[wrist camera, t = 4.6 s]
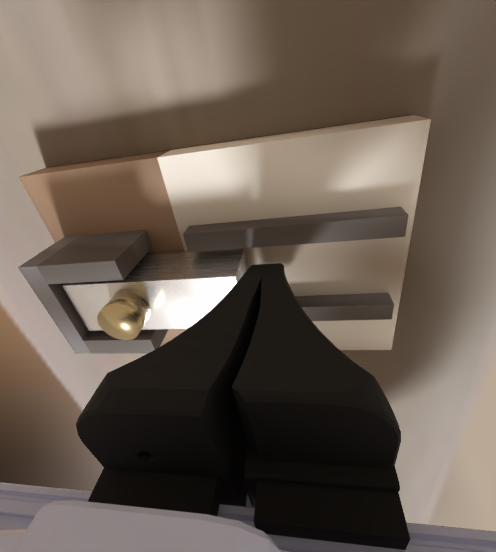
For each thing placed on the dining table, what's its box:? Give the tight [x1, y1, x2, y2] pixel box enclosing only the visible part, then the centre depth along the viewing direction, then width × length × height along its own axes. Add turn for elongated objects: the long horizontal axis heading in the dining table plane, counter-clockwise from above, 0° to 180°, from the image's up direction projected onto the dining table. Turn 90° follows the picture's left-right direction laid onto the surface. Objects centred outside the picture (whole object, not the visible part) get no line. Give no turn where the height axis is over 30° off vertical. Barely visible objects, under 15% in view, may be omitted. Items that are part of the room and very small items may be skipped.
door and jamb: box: [18, 115, 431, 353], centre depth 12 cm, size 10×15×4 cm, turn 99°
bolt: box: [63, 248, 248, 340], centre depth 12 cm, size 2×7×3 cm, turn 99°
